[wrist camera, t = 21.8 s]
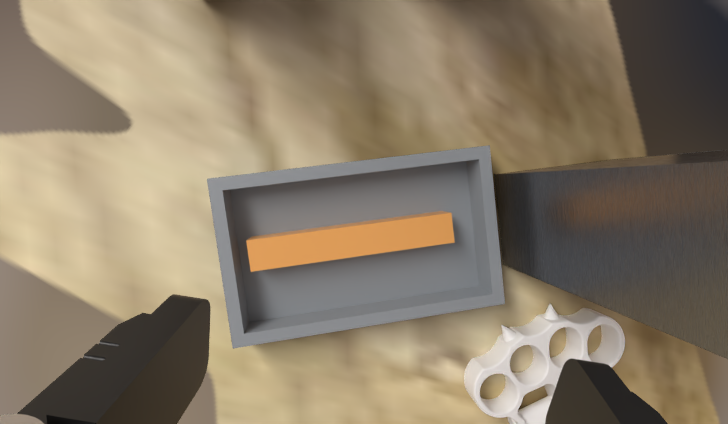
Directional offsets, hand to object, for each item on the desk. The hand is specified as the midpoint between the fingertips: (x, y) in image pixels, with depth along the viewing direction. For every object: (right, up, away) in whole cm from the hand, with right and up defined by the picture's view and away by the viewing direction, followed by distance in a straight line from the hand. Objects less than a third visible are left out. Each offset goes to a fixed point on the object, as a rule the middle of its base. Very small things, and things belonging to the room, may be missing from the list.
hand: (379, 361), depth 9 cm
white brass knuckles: (+20, -14, +38) cm, 46 cm away
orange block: (-2, +1, +34) cm, 34 cm away
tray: (-1, 0, +34) cm, 34 cm away
